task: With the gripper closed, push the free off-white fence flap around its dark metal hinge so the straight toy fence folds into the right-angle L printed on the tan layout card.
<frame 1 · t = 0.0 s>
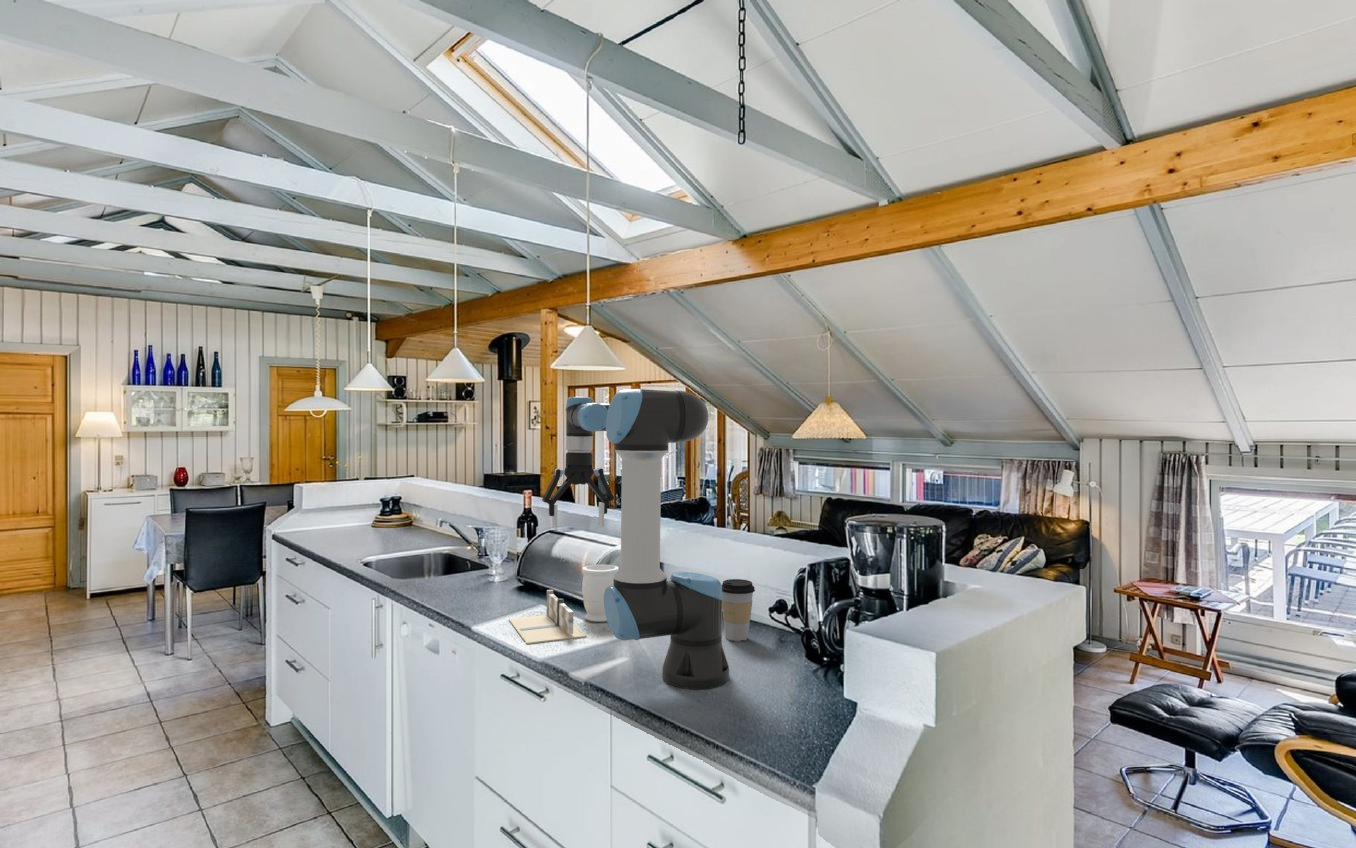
hand: (578, 526, 197), 28 cm above the countertop, fingers open, 13 cm apart
fence fixed: (555, 607, 201), on the layout card
coffee cup: (736, 638, 188), on the countertop
fence flap: (565, 616, 192), point 4 cm above the countertop, hinge at 0.0°
layout card: (560, 626, 196), on the countertop
jar: (599, 619, 205), on the countertop
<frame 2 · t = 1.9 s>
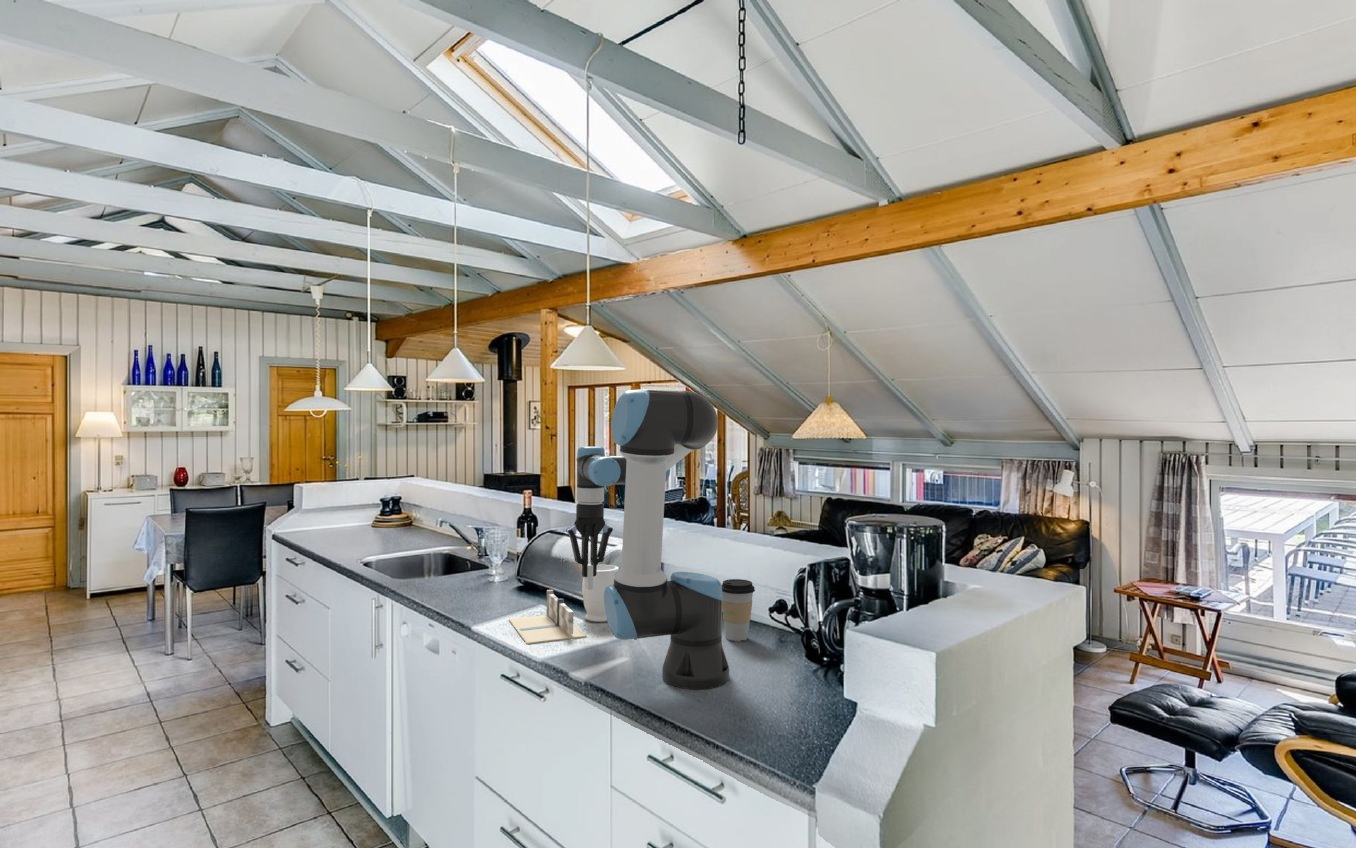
hand: (588, 588, 192), 12 cm above the countertop, fingers closed
nothing on the countertop moved.
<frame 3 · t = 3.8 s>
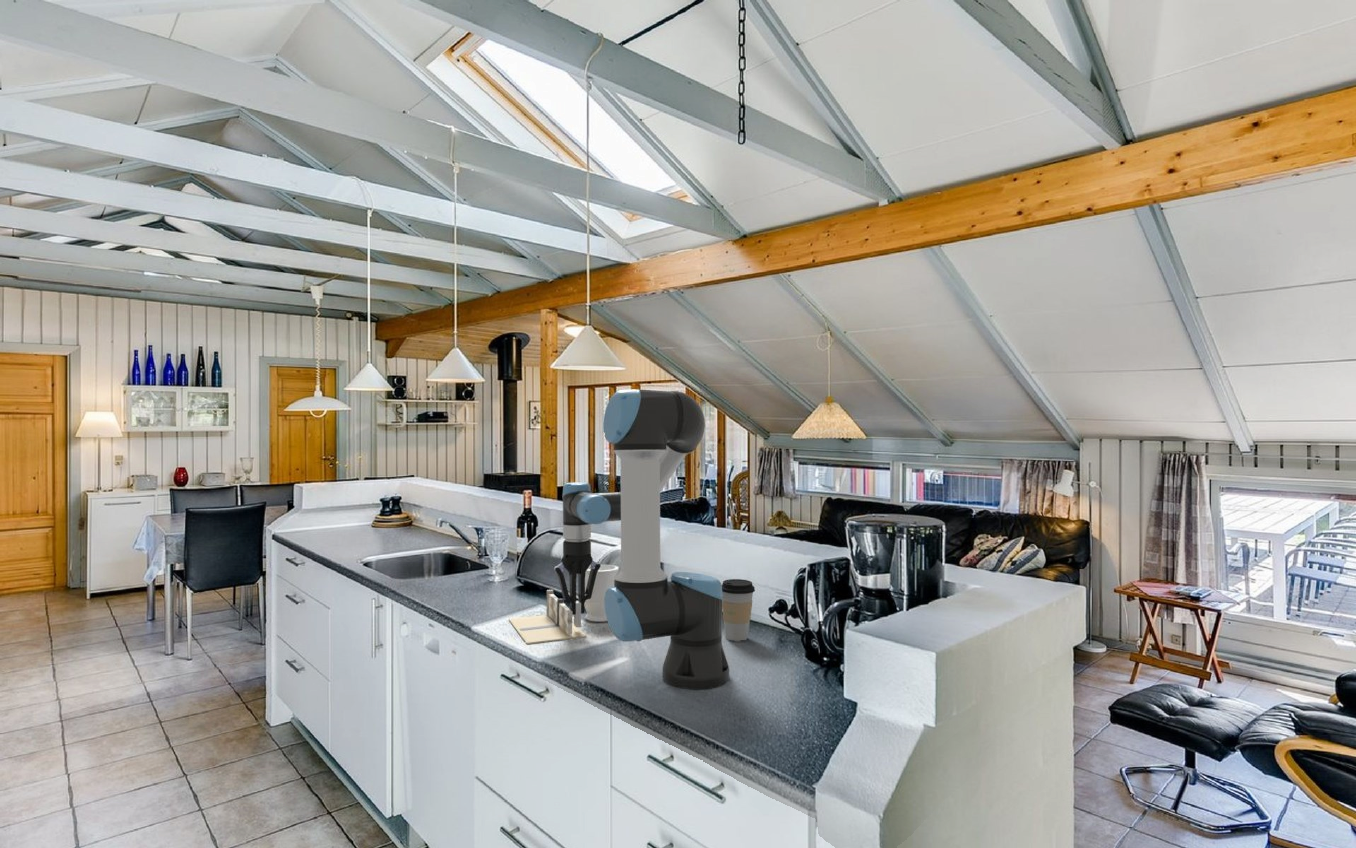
hand: (577, 625, 190), 2 cm above the countertop, fingers closed
fence flap: (564, 616, 192), point 4 cm above the countertop, hinge at 1.4°, touching gripper
everything else where it was.
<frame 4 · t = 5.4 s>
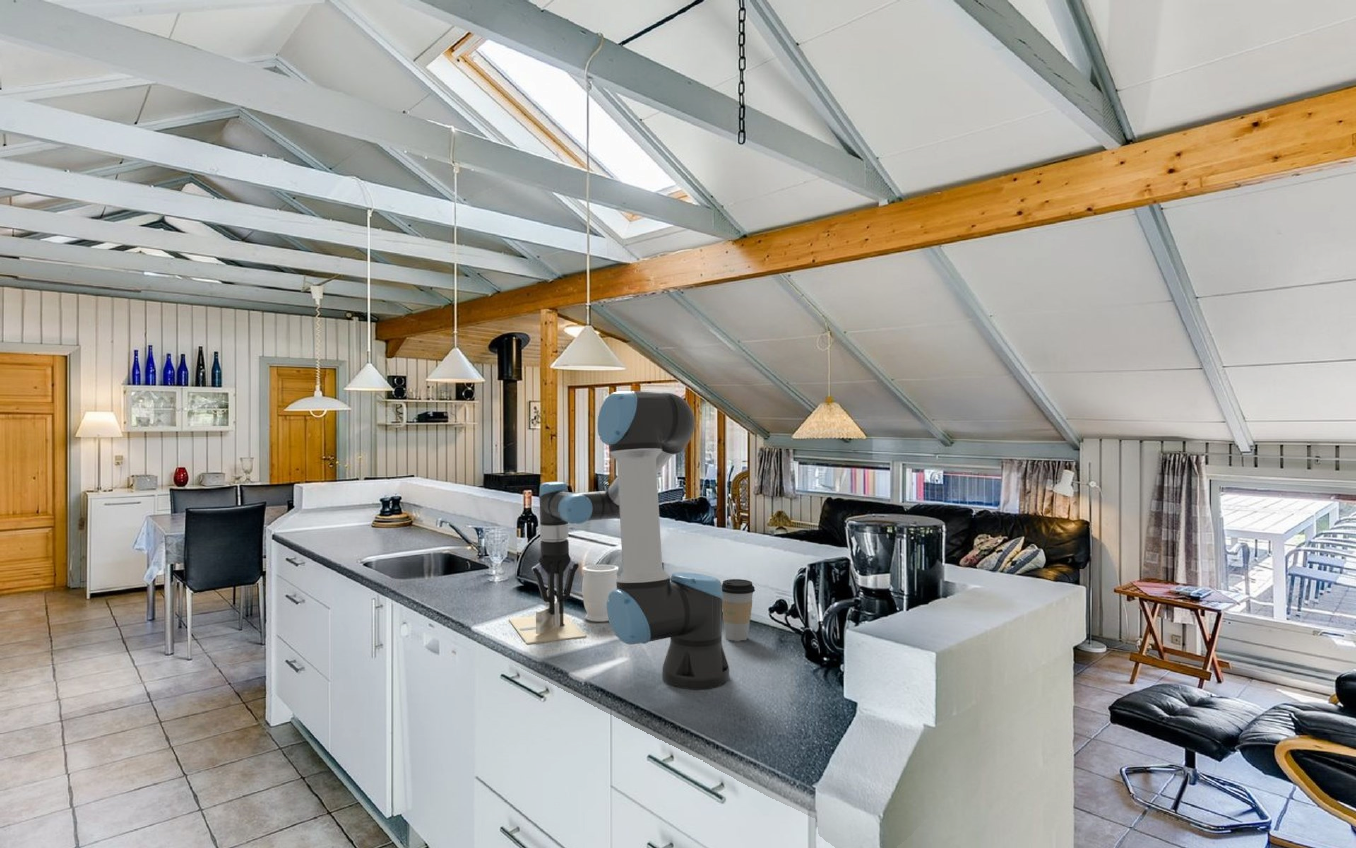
hand: (556, 625, 190), 2 cm above the countertop, fingers closed
fence flap: (550, 616, 192), point 4 cm above the countertop, hinge at 47.5°, touching gripper
everything else where it was.
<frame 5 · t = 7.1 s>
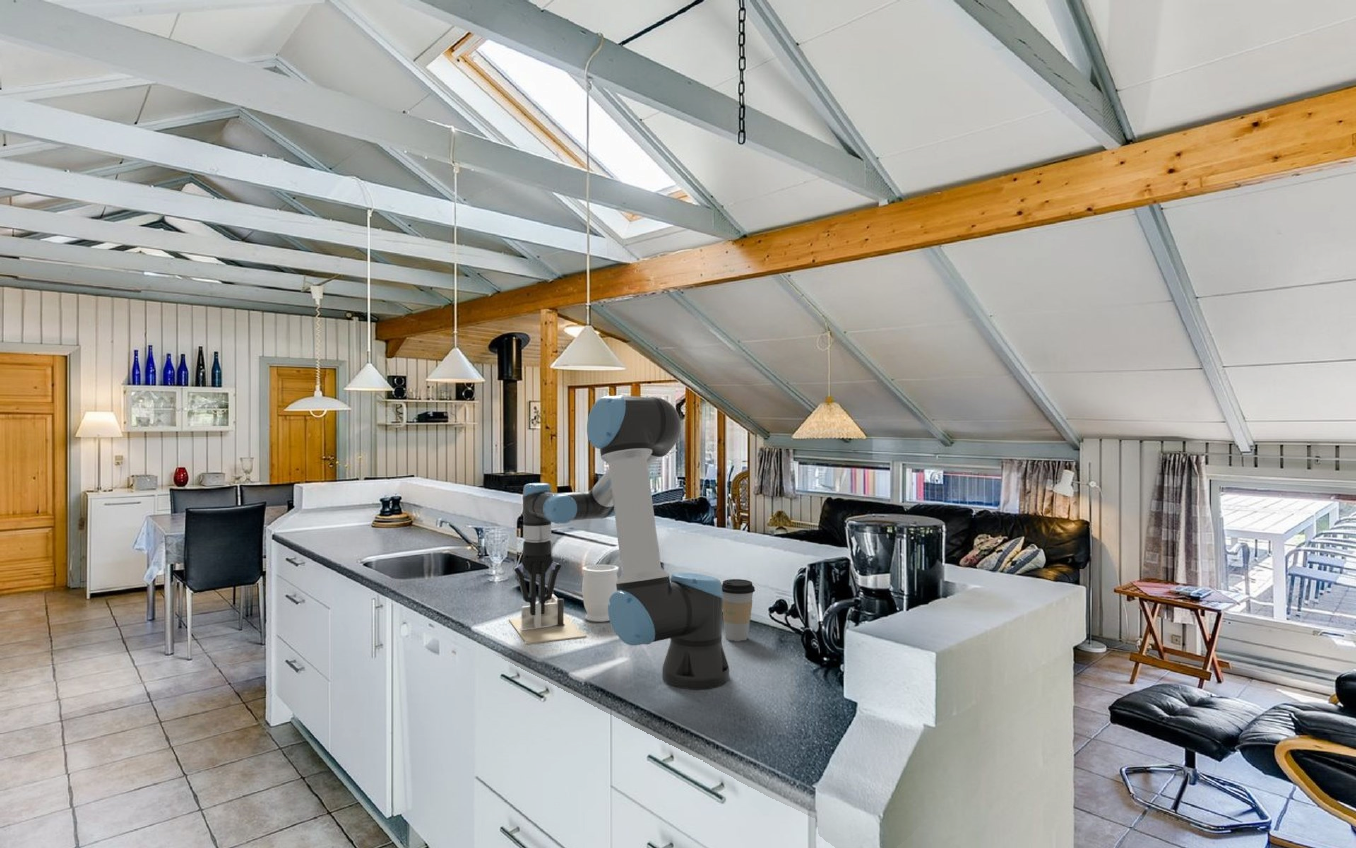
hand: (537, 626, 191), 2 cm above the countertop, fingers closed
fence flap: (543, 613, 194), point 4 cm above the countertop, hinge at 83.9°, touching gripper
everything else where it was.
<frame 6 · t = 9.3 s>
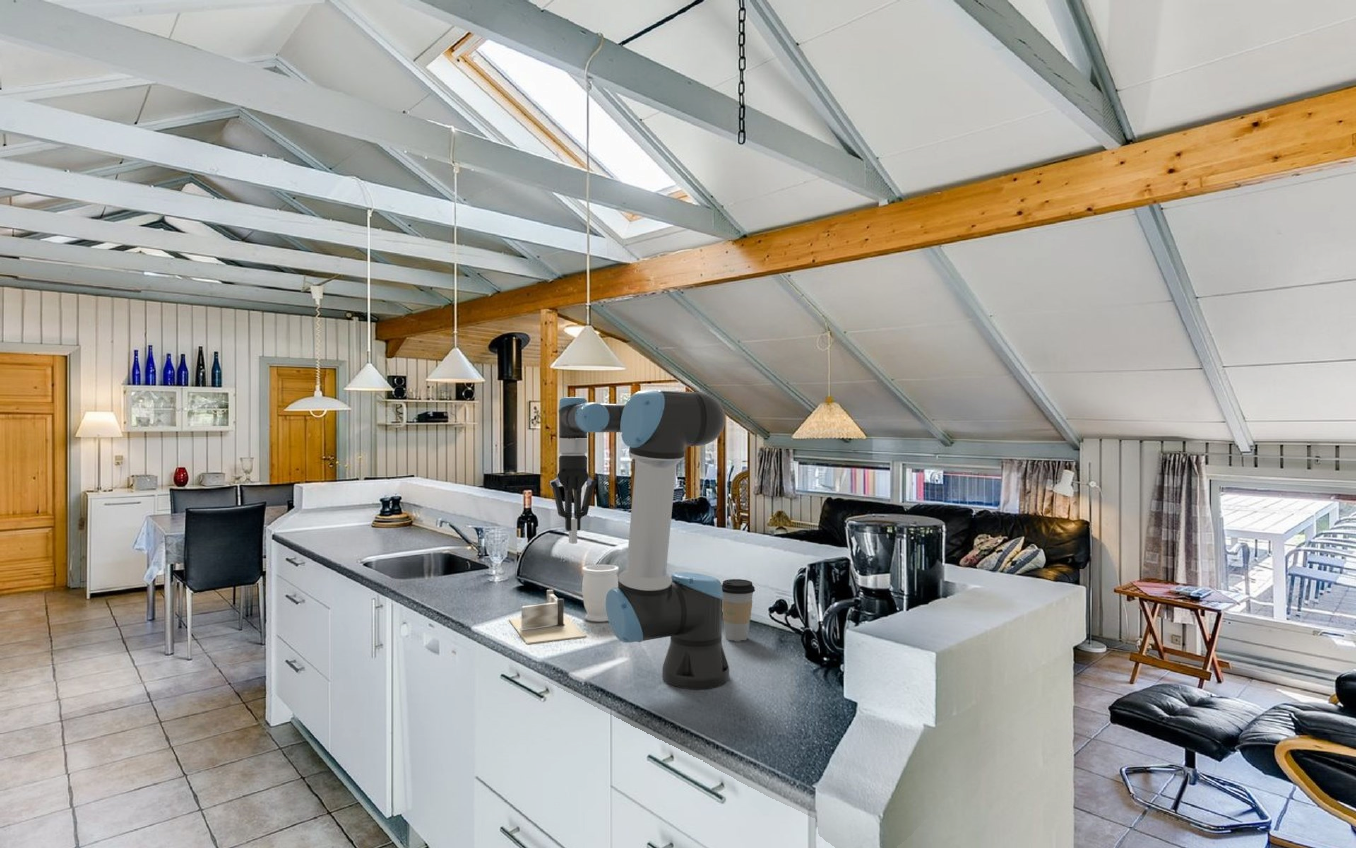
hand: (572, 542, 187), 25 cm above the countertop, fingers closed
fence flap: (543, 613, 194), point 4 cm above the countertop, hinge at 83.9°
everything else where it was.
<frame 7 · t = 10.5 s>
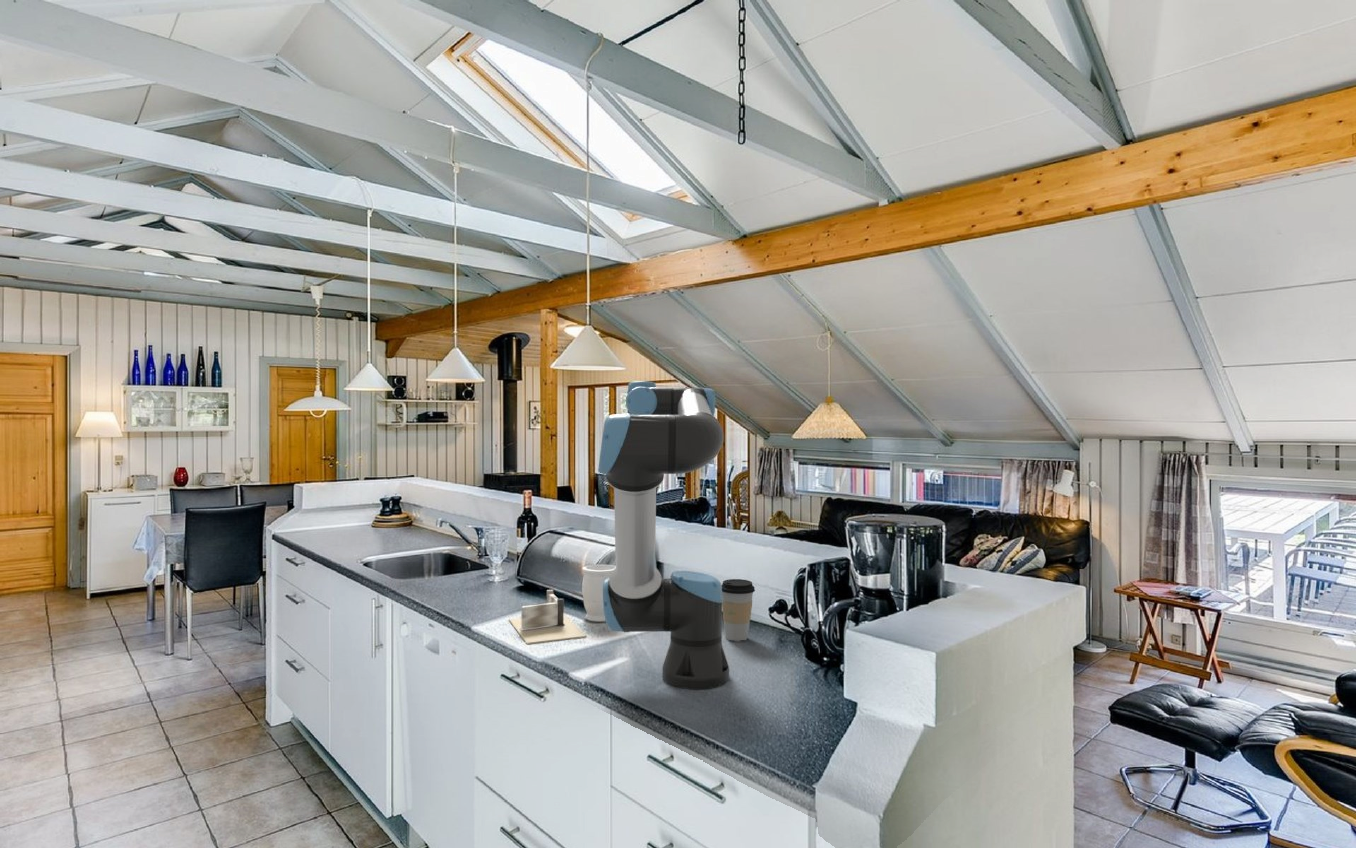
hand: (640, 529, 185), 29 cm above the countertop, fingers closed
nothing on the countertop moved.
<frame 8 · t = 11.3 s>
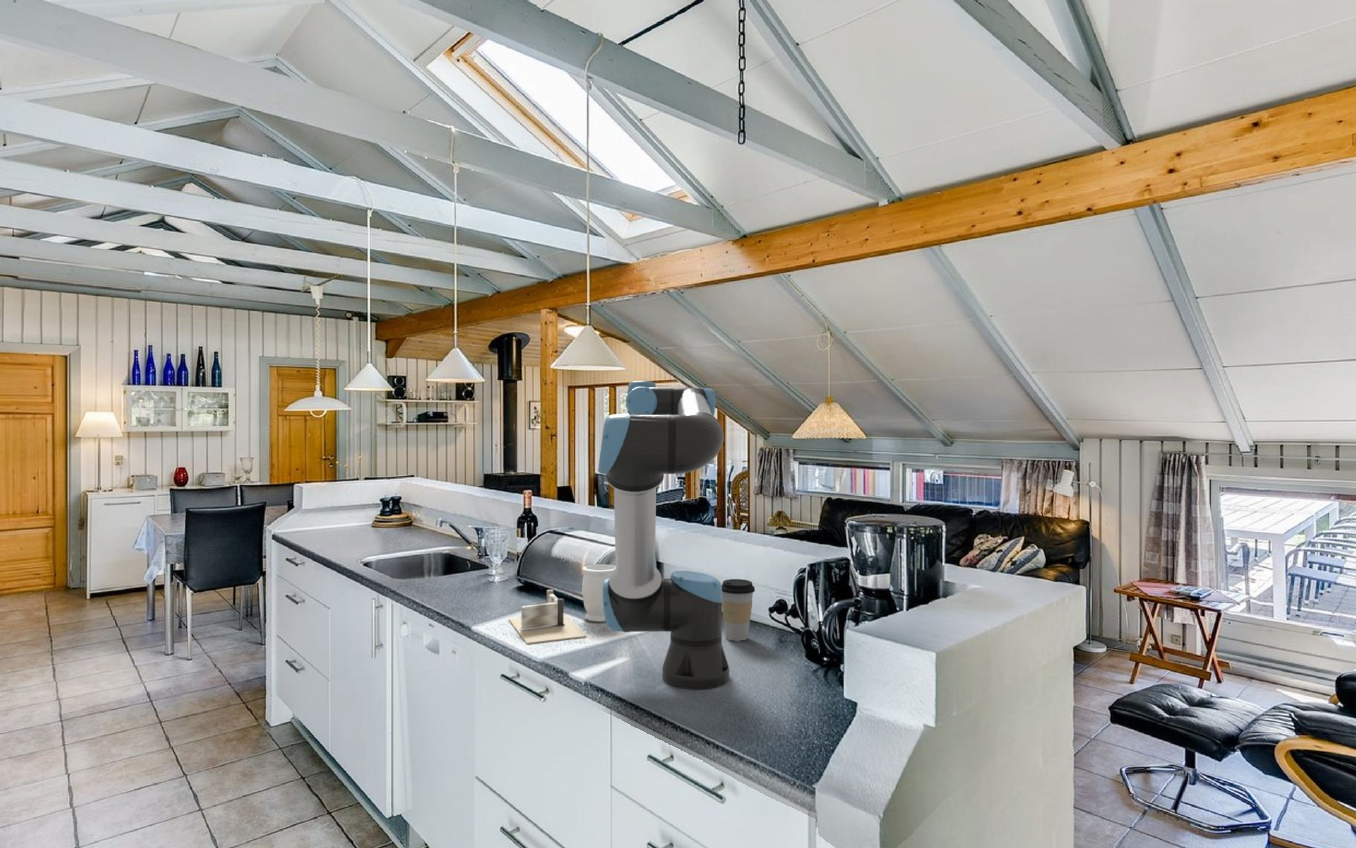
hand: (640, 529, 185), 29 cm above the countertop, fingers closed
nothing on the countertop moved.
at the end: fence flap at +84° (first picture: +0°) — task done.
